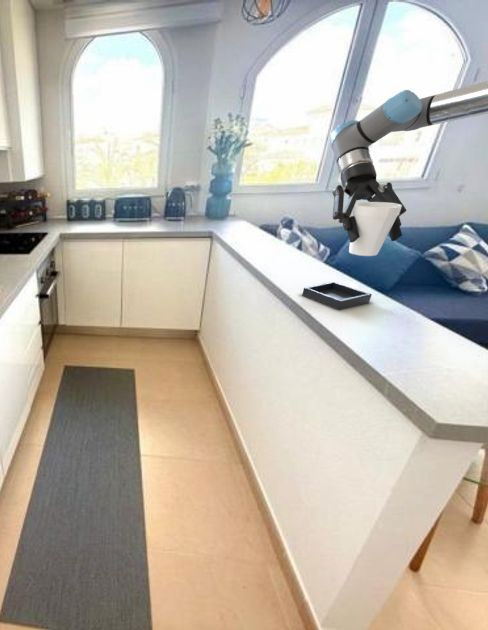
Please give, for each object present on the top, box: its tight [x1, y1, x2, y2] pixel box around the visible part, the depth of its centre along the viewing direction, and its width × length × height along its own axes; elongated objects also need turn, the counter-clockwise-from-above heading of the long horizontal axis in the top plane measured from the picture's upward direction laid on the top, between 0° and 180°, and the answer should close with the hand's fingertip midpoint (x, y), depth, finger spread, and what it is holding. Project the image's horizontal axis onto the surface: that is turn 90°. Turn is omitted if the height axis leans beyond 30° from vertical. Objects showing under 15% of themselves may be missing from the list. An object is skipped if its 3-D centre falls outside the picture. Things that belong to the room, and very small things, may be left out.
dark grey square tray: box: [301, 281, 373, 311], centre depth 107 cm, size 12×12×3 cm
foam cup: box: [348, 201, 402, 257], centre depth 93 cm, size 10×9×13 cm
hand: (375, 239), depth 91 cm, fingers closed on foam cup, 9 cm apart
